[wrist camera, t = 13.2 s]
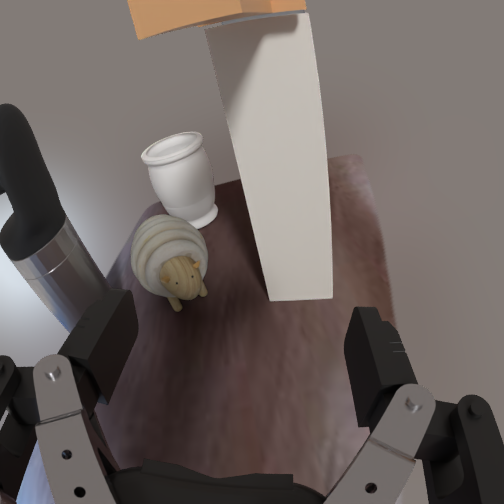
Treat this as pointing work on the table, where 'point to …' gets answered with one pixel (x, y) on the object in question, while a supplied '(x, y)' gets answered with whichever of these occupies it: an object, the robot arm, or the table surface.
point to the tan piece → (199, 13)
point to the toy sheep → (170, 259)
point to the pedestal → (279, 146)
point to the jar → (183, 177)
